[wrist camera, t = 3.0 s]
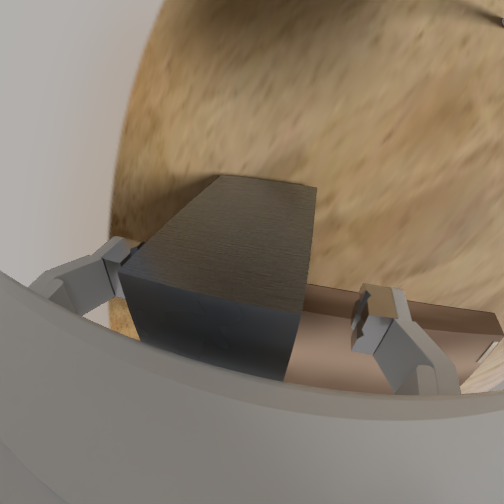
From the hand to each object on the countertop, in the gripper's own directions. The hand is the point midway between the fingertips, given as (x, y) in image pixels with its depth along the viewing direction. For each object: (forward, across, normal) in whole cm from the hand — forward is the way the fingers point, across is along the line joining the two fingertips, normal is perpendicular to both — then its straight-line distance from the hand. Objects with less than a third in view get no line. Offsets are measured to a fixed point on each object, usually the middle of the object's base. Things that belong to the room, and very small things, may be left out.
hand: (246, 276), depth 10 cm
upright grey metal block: (+3, 0, +3) cm, 4 cm away
